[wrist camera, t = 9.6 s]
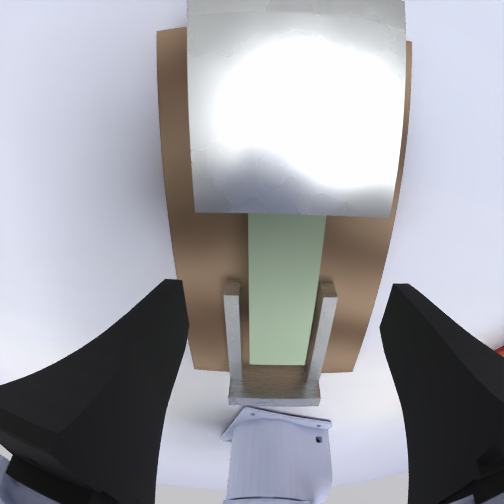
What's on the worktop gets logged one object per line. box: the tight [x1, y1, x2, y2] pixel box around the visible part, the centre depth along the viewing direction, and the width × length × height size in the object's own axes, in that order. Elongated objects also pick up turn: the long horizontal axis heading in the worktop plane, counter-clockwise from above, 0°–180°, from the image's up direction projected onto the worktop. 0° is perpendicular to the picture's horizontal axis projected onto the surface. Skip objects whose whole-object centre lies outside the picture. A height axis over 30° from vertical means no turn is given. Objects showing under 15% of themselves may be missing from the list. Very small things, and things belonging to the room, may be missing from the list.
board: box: [157, 27, 412, 373], centre depth 17 cm, size 22×12×1 cm, turn 0°
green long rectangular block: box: [248, 213, 326, 365], centre depth 14 cm, size 13×3×4 cm, turn 0°
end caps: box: [187, 0, 406, 406], centre depth 14 cm, size 22×6×6 cm, turn 0°
